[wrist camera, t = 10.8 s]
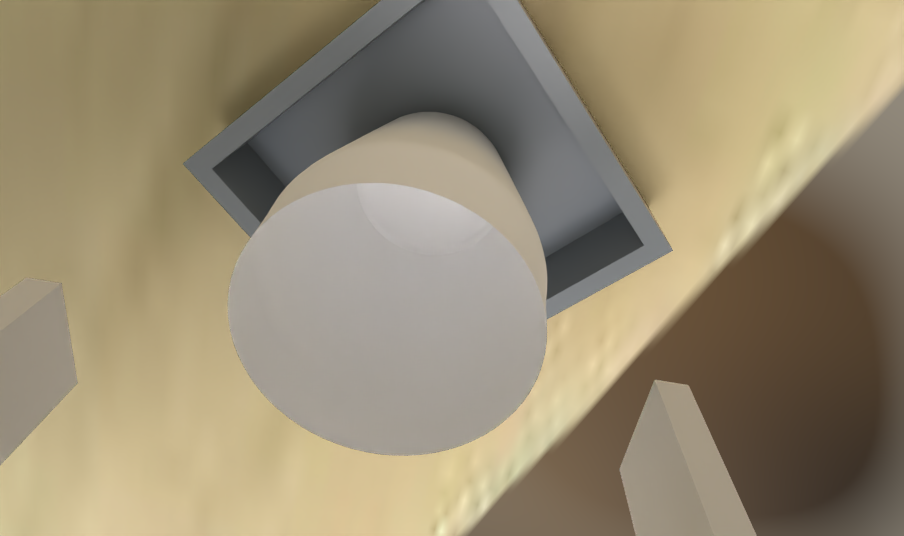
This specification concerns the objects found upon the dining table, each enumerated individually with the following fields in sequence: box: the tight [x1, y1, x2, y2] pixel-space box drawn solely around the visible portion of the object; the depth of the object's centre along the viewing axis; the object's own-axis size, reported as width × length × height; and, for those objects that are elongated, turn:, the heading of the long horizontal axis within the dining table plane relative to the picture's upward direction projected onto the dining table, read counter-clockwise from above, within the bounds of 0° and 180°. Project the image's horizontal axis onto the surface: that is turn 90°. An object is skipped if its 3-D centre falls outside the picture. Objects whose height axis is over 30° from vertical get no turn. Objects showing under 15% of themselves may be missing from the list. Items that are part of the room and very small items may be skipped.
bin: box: [183, 0, 673, 319], centre depth 26 cm, size 14×14×4 cm
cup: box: [228, 112, 547, 456], centre depth 22 cm, size 9×9×12 cm
